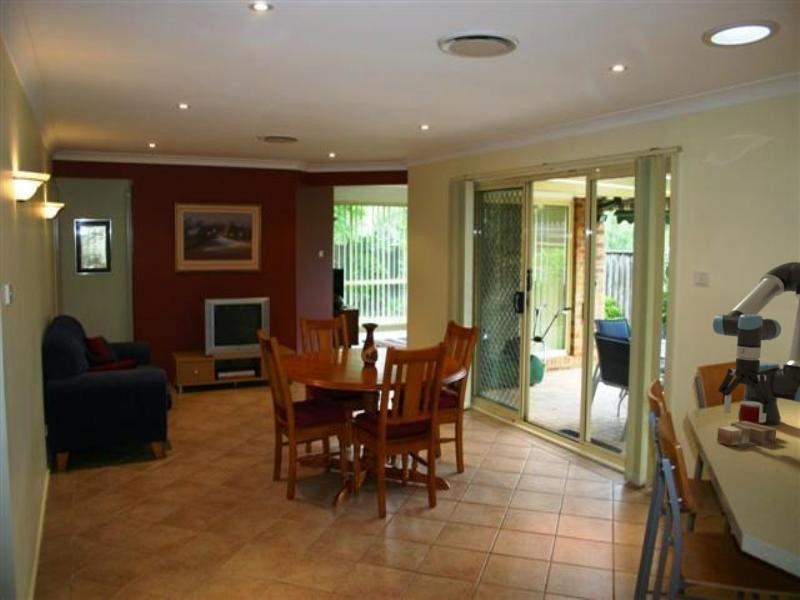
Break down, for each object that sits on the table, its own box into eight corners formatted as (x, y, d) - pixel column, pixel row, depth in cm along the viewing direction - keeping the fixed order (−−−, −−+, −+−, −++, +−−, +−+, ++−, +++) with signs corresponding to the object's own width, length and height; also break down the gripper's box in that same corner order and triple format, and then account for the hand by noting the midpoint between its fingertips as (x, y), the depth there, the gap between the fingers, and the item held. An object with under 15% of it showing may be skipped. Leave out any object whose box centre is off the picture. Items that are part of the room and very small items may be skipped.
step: (744, 434, 251) (745, 420, 250) (775, 442, 240) (776, 428, 240) (730, 436, 247) (731, 423, 246) (761, 445, 236) (762, 431, 236)
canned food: (765, 435, 249) (767, 406, 248) (741, 433, 251) (743, 404, 250) (758, 430, 257) (760, 401, 256) (736, 428, 258) (737, 400, 257)
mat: (731, 437, 245) (731, 436, 245) (756, 444, 237) (756, 443, 237) (716, 440, 242) (716, 439, 242) (742, 447, 233) (742, 446, 233)
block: (737, 425, 242) (718, 427, 238) (750, 428, 238) (730, 431, 233) (736, 438, 243) (717, 441, 238) (749, 442, 238) (729, 445, 234)
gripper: (710, 353, 248) (706, 410, 249) (775, 364, 226) (771, 427, 227) (723, 352, 251) (720, 408, 253) (789, 363, 229) (784, 424, 231)
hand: (744, 417), depth 240 cm, fingers open, 13 cm apart
